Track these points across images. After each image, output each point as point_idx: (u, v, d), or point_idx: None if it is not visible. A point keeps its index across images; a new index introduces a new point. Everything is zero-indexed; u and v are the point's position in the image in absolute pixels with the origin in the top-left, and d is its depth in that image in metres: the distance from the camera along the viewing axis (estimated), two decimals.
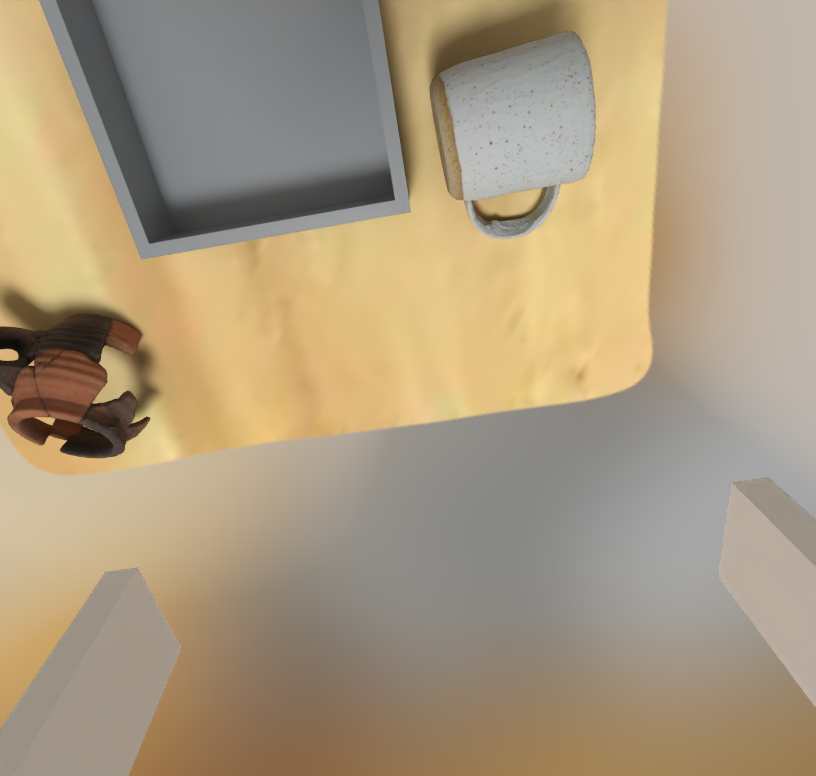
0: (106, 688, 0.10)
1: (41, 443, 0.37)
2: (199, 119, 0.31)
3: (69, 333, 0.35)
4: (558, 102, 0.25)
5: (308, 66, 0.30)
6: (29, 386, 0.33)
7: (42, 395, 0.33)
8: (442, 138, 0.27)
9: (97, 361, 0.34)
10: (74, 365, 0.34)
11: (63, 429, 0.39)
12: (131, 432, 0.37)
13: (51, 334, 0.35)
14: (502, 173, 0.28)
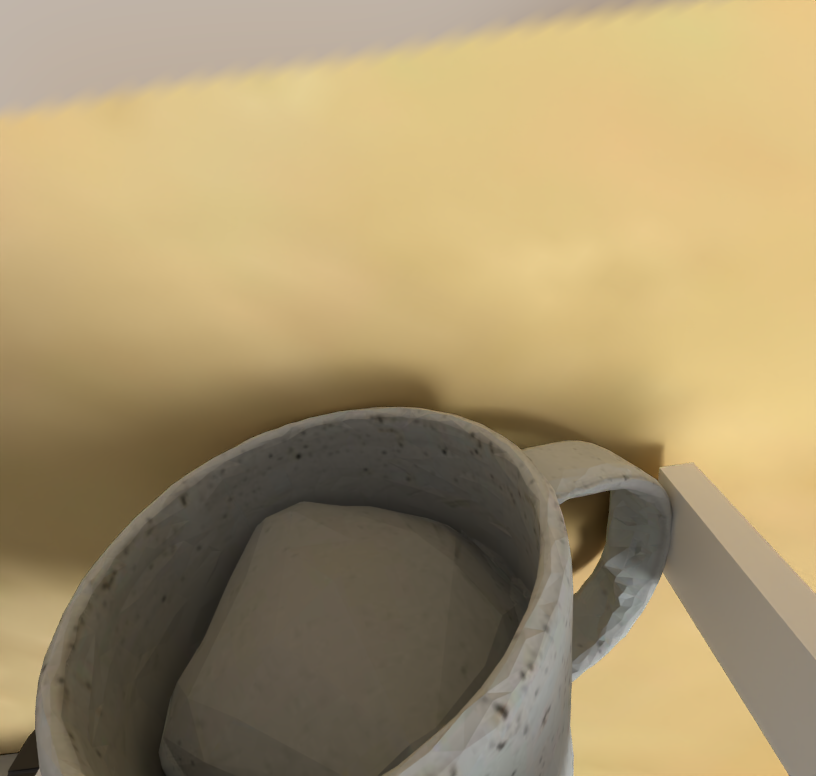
0: None
1: None
2: None
3: None
4: None
5: None
6: None
7: None
8: None
9: None
10: None
11: None
12: None
13: None
14: None
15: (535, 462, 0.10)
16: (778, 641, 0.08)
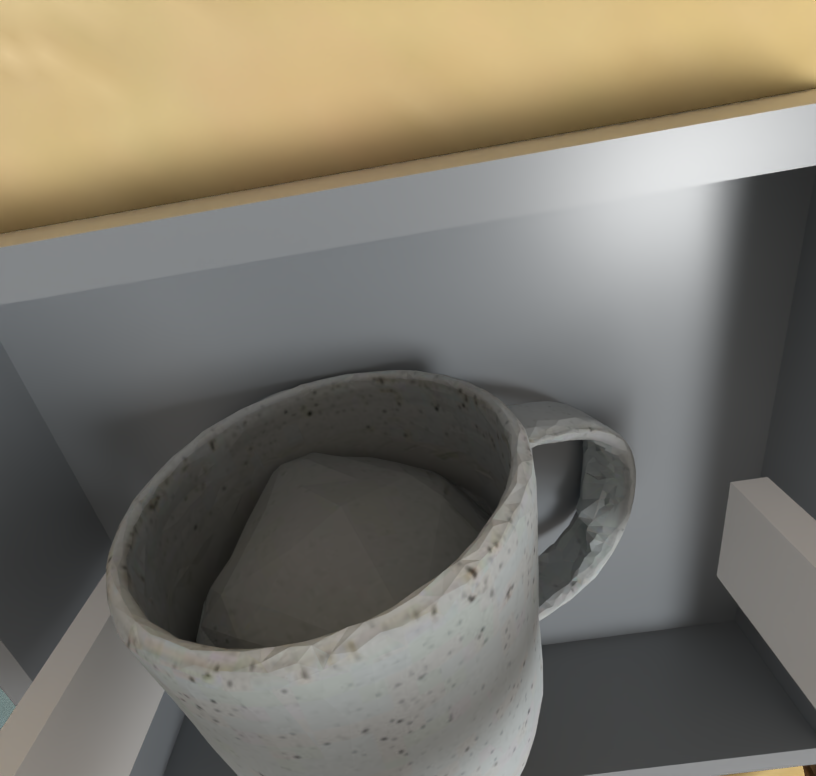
0: (108, 687, 0.10)
1: None
2: None
3: None
4: (284, 745, 0.07)
5: (472, 356, 0.13)
6: None
7: None
8: None
9: None
10: None
11: None
12: None
13: None
14: (493, 765, 0.09)
15: (514, 415, 0.11)
16: None
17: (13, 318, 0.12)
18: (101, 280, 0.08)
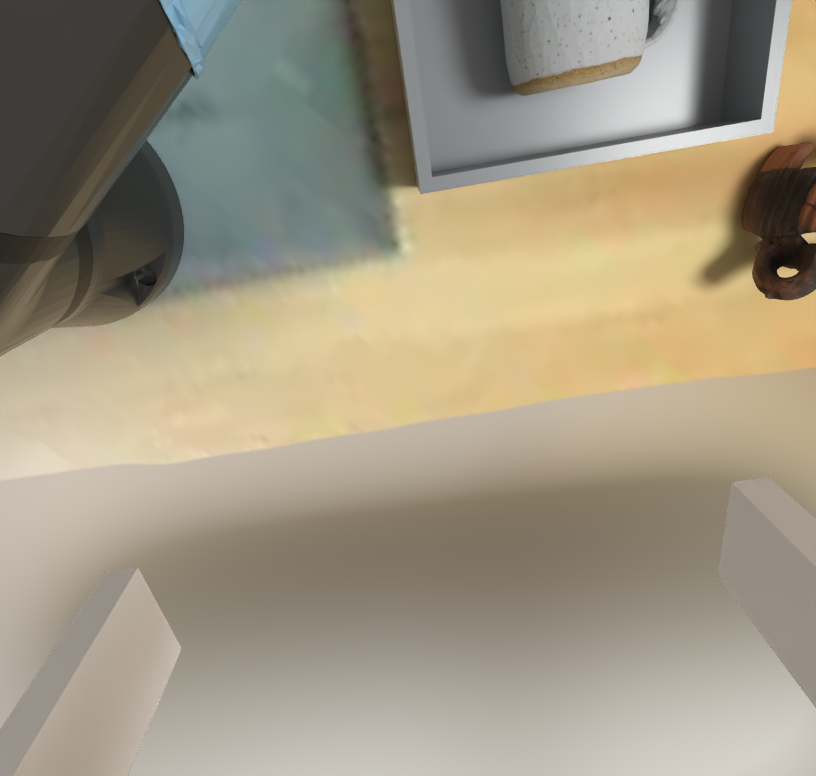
0: (106, 688, 0.10)
1: None
2: None
3: (776, 207, 0.33)
4: None
5: None
6: None
7: None
8: (588, 81, 0.26)
9: None
10: None
11: None
12: None
13: (772, 226, 0.34)
14: (638, 1, 0.24)
15: None
16: None
17: None
18: None
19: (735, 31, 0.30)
